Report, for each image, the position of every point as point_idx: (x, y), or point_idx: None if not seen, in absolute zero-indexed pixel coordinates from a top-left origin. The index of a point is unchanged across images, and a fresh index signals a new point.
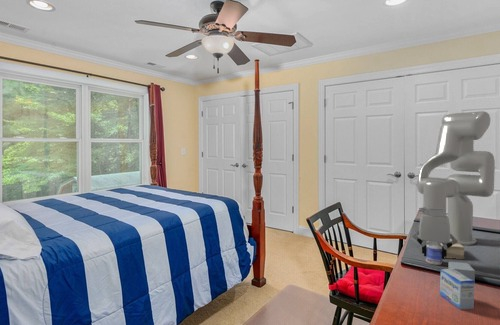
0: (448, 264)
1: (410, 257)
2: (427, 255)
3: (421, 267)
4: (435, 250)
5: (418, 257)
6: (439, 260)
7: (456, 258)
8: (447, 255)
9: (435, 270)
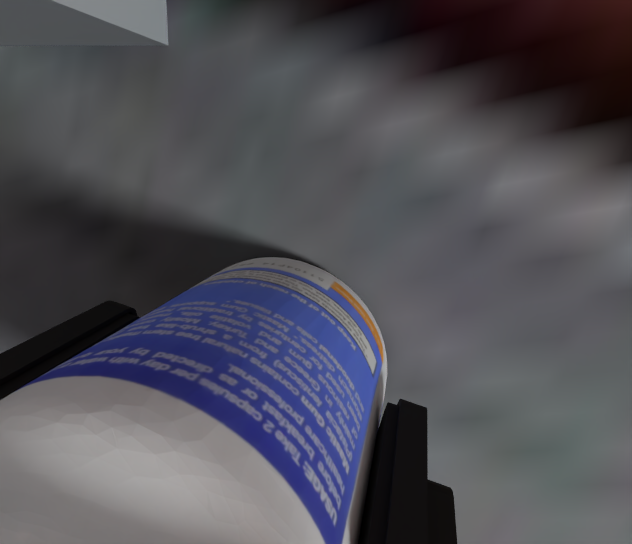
0: (83, 8)
1: (584, 509)
2: (368, 388)
3: (556, 116)
4: (155, 360)
5: None
6: (198, 284)
7: None
8: None
9: (347, 36)
